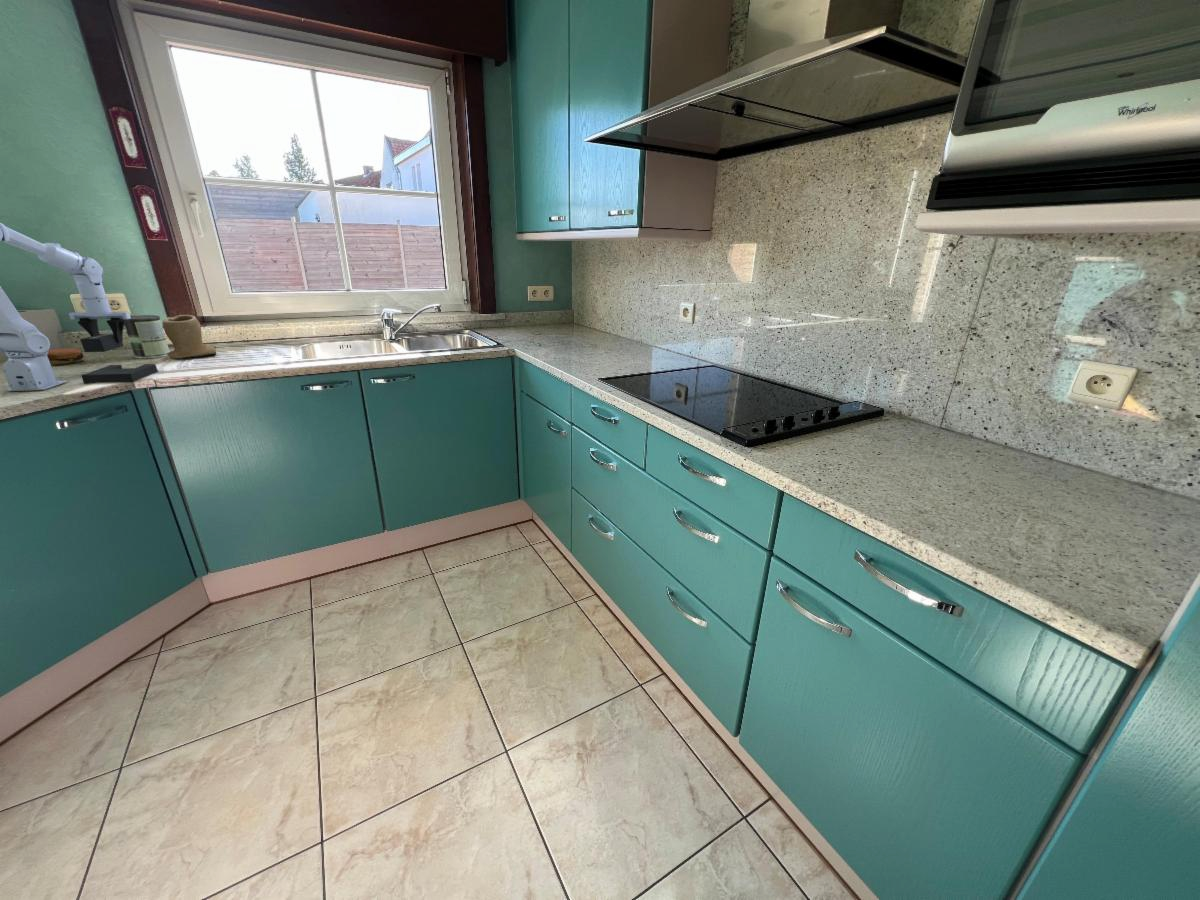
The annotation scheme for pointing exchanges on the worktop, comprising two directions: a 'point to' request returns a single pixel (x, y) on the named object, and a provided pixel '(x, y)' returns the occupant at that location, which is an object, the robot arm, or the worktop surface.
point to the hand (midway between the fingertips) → (109, 342)
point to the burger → (64, 356)
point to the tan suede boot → (186, 337)
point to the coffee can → (146, 336)
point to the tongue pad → (100, 343)
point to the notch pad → (119, 374)
